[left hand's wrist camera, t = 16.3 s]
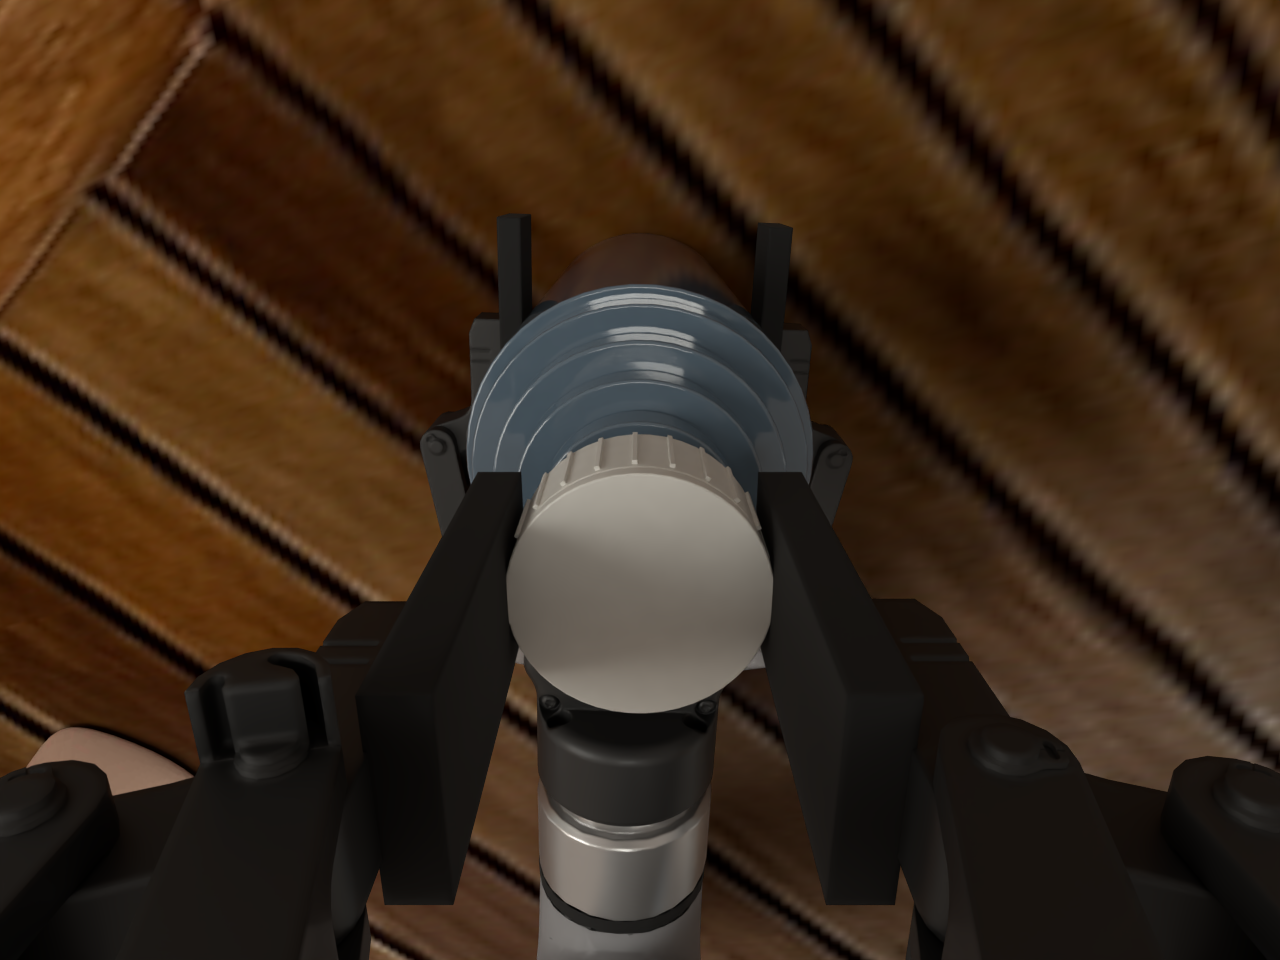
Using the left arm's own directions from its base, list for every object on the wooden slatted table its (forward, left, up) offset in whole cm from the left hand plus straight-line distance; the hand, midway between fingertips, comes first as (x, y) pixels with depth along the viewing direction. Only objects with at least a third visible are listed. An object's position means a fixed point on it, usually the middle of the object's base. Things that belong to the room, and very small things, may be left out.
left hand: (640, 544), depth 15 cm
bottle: (0, 0, -22) cm, 22 cm away
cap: (0, 0, +2) cm, 2 cm away
